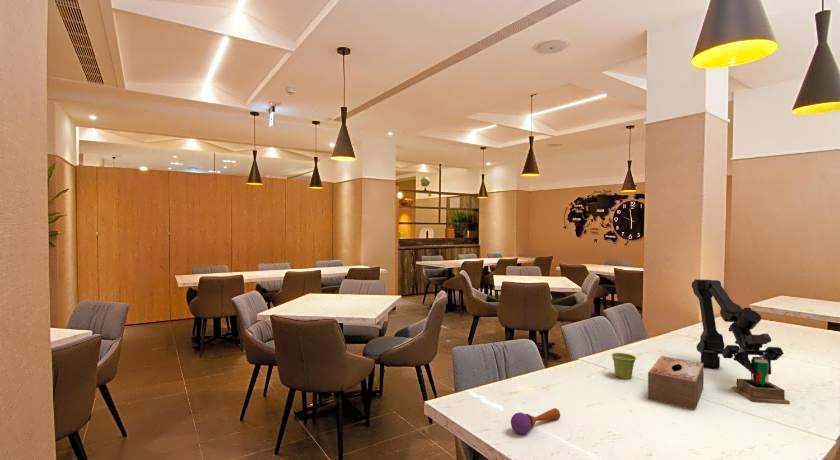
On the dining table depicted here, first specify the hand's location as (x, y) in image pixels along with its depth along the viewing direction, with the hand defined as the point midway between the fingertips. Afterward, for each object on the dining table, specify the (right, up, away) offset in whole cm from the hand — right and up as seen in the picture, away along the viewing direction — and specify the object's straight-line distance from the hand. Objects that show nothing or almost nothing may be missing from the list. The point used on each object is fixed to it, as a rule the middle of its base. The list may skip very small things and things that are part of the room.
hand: (762, 373), depth 153 cm
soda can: (0, -7, +1) cm, 7 cm away
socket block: (0, -9, +1) cm, 9 cm away
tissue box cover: (-29, -9, +4) cm, 31 cm away
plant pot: (-41, -9, +21) cm, 47 cm away
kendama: (-90, -9, -23) cm, 93 cm away
